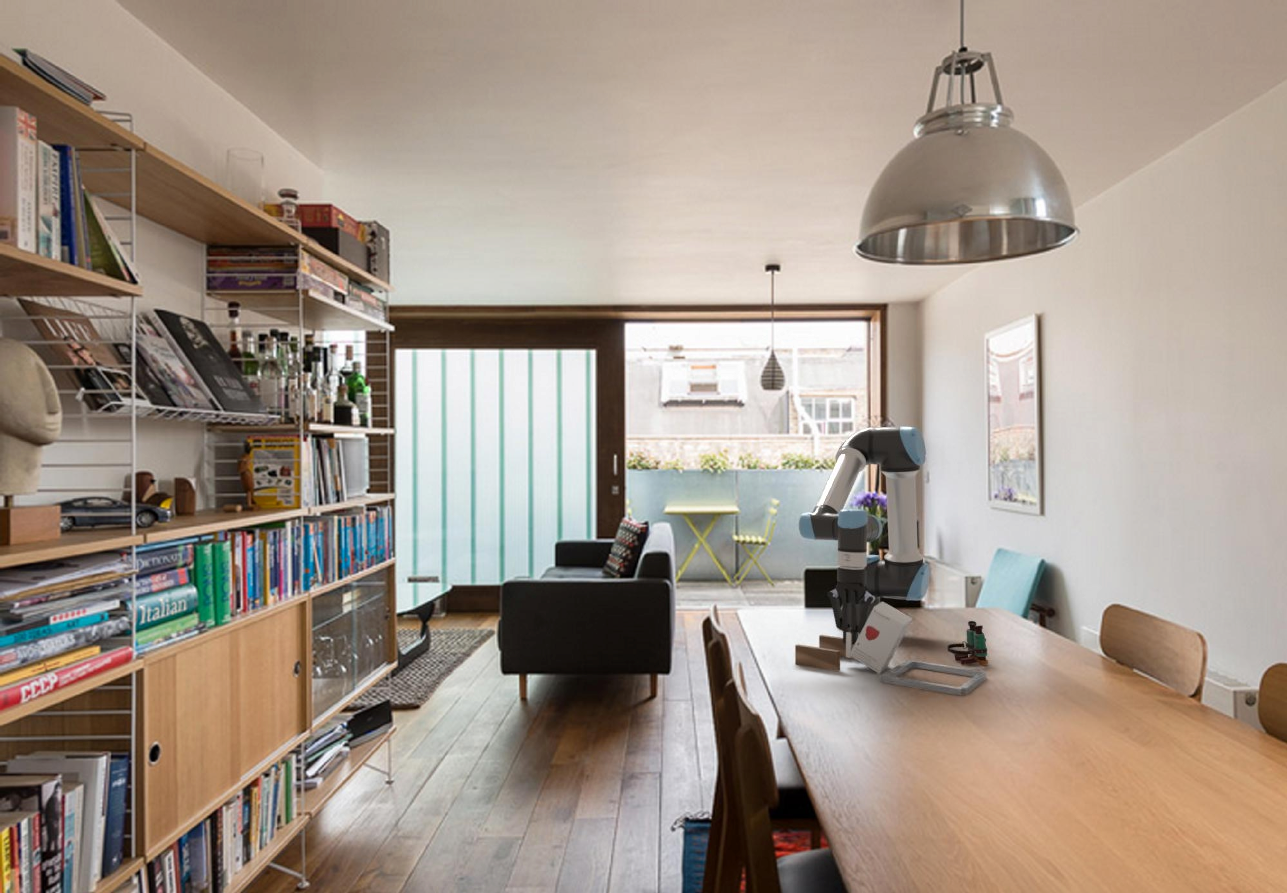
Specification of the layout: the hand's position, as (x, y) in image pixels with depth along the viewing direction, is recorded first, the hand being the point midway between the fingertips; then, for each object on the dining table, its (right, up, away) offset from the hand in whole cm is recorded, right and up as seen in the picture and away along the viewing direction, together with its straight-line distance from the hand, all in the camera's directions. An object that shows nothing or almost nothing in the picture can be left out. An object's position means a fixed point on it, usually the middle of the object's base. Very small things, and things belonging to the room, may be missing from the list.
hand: (850, 656), depth 219 cm
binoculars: (+33, -3, +4) cm, 33 cm away
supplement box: (+4, -1, -3) cm, 5 cm away
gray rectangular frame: (+18, -2, -14) cm, 22 cm away
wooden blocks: (-5, -2, +4) cm, 7 cm away
